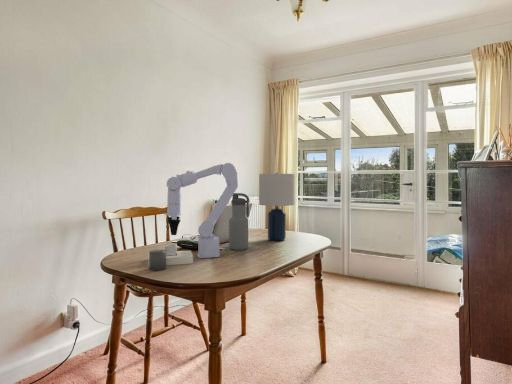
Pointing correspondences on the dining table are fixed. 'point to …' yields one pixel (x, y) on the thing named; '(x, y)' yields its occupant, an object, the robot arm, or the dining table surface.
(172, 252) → the square peg
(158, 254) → the round peg
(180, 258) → the bore plate
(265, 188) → the lamp
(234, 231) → the water bottle
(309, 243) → the dining table surface
